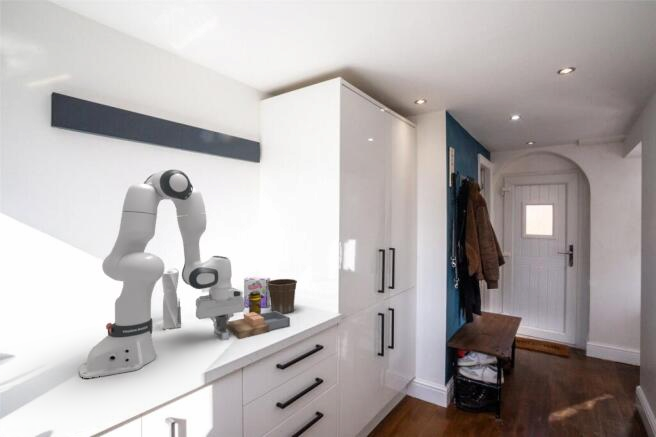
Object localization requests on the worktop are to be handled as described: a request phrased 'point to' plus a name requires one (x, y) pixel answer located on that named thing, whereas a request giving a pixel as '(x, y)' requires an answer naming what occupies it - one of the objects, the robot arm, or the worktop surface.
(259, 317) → the tile
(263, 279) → the candy box
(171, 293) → the skyscraper
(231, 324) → the board
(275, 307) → the plant pot
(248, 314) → the tile
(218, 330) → the scraper
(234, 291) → the robot arm
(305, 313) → the worktop surface
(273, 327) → the tray
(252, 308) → the condiment
